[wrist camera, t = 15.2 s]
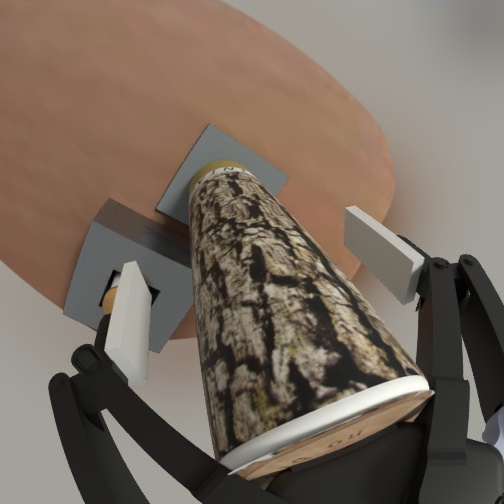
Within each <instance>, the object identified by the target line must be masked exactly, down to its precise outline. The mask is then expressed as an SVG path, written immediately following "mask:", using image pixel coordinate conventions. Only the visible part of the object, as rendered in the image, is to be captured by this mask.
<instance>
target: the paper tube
mask: <svg viewBox="0 0 504 504" xmlns="http://www.w3.org/2000/svg"><path fill="white" fill-rule="evenodd" d="M189 228H190V250H191V267H192V282H193V296H194V308H195V319H196V329H197V338H198V347H199V356H200V365H201V372H202V380H203V387H204V395H205V401H206V408H207V414H208V420H209V426H210V432H211V438H212V444H213V449H214V454H215V460H216V461H217V462H218V463H221V464H222V465H224V466H225V467H227V468H229V469H230V470H232V472H230V473H229V474H228V475H230V474H238V475H240V476H241V477H243V478H245V479H246V480H248V481H250V482H251V483H253V484H255V485H256V486H258V487H260V488H262V489H264V490H265V489H266V487H267V486H268V485H269V483H270V482H271V481H272V480H273V479H274V478H275V477H276V476H277V475H278V474H280V473H281V472H282V471H284V470H286V469H288V468H291V467H290V466H292V465H296V464H299V463H302V462H305V461H308V460H311V459H314V458H317V457H320V456H323V455H325V454H328V453H331V452H333V451H336V450H341V449H346V448H348V447H350V446H351V445H352V444H354V443H355V442H357V441H359V440H362V439H364V438H366V437H368V436H370V435H372V434H374V433H376V432H378V431H380V430H382V429H384V428H386V427H388V426H390V425H392V424H393V423H395V424H396V423H399V422H413V421H414V419H415V418H416V417H417V416H418V415H419V413H420V412H421V411H422V409H423V408H424V407H425V406H426V404H427V403H428V402H429V400H430V399H431V398H432V396H433V395H434V394H435V392H434V391H433V390H429V386H428V381H427V379H426V377H425V376H424V375H423V373H422V372H421V370H420V369H419V368H418V366H417V365H416V364H415V362H414V361H413V360H412V358H411V357H410V356H409V354H408V353H407V352H406V350H405V349H404V348H403V346H402V345H401V344H400V342H399V341H398V340H397V338H396V337H395V336H394V335H393V333H392V332H391V331H390V329H389V328H388V327H387V326H386V324H385V323H384V322H383V320H382V319H381V318H380V317H379V316H378V314H377V313H376V312H375V311H374V310H373V308H372V307H371V306H370V304H369V303H368V302H367V301H366V300H365V298H364V297H363V296H362V295H361V293H360V292H359V291H358V290H357V289H356V287H355V286H354V285H353V284H352V283H351V281H350V280H349V279H348V278H347V277H346V275H345V274H344V273H343V272H342V271H341V270H340V268H339V267H338V266H337V265H336V264H335V263H334V262H333V260H332V259H331V258H330V257H329V256H328V255H327V254H326V252H325V251H324V250H323V249H322V248H321V247H320V246H319V244H318V243H317V242H316V241H315V240H314V239H313V238H312V237H311V236H310V234H309V233H308V232H307V231H306V230H305V229H304V228H303V227H302V226H301V225H300V223H299V222H298V221H297V220H296V219H295V218H294V217H293V216H292V215H291V214H290V213H289V212H288V210H287V209H286V208H285V207H284V206H283V205H282V204H281V203H280V202H279V201H278V200H277V199H276V198H275V197H274V196H273V195H272V194H271V193H270V191H269V190H268V189H267V188H266V187H265V186H264V185H263V184H262V183H261V182H260V181H258V179H257V178H256V177H255V176H254V175H253V174H252V173H251V172H250V171H249V170H248V169H247V168H245V167H244V166H243V165H241V164H239V163H237V162H234V161H229V160H219V161H215V162H212V163H209V164H207V165H205V166H204V167H202V168H201V169H200V170H199V171H198V172H197V173H196V175H195V176H194V178H193V179H192V182H191V184H190V188H189Z"/></svg>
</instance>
